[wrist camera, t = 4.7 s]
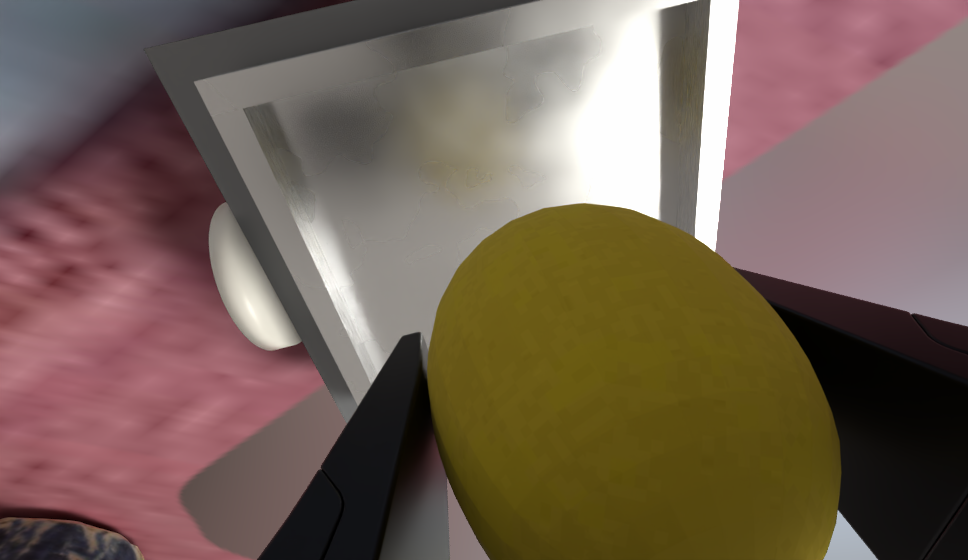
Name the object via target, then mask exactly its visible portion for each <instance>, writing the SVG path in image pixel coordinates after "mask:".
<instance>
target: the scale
mask: <svg viewBox="0 0 968 560" xmlns="http://www.w3.org/2000/svg"><path fill="white" fill-rule="evenodd" d="M531 1H535V0H354V1H350V2H346V3H341V4H337V5H333V6H328V7H324V8H320V9H315V10H311V11H306V12H302V13H298V14H293V15H289V16H285V17H280V18H276V19H272V20H267V21H263V22H259V23H254V24H250V25H245V26H241V27H237V28H232V29H228V30H224V31H219V32H215V33H211V34H206V35H202V36H198V37H193V38H189V39H185V40H180V41H176V42H171V43H167V44H163V45H158V46H154V47H150V48H145V49H144V51H145V53H146V55H147V57H148V58H149V60H150V62H151V64H152V66H153V68H154V69H155V71H156V73H157V75H158V77H159V79H160V81H161V82H162V84H163V86H164V88H165V90H166V92H167V93H168V95H169V97H170V99H171V101H172V103H173V104H174V106H175V108H176V110H177V112H178V114H179V116H180V117H181V119H182V121H183V123H184V125H185V127H186V128H187V130H188V132H189V134H190V136H191V138H192V139H193V141H194V143H195V145H196V147H197V149H198V151H199V152H200V154H201V156H202V158H203V160H204V162H205V163H206V165H207V167H208V169H209V171H210V173H211V174H212V176H213V178H214V180H215V182H216V184H217V186H218V187H219V189H220V191H221V193H222V195H223V197H224V198H225V200H226V202H225V203H223V204H221V205H220V206H219V207H218V208H217V209H216V211H215V212H214V215H213V217H212V220H211V223H210V230H209V253H210V260H211V266H212V270H213V275H214V278H215V282H216V285H217V288H218V291H219V293H220V296H221V298H222V301H223V303H224V305H225V307H226V309H227V311H228V313H229V314H230V316H231V318H232V320H233V321H234V323H235V324H236V325H237V327H238V328H239V330H240V331H241V332H242V333H243V334H244V336H245V337H246V338H248V339H249V340H250V341H251V342H252V343H253V344H255V345H256V346H258V347H260V348H262V349H264V350H268V351H273V350H277V349H281V348H285V347H289V346H293V345H297V344H298V343H300V342H301V341H302V342H303V344H304V346H305V348H306V349H307V351H308V353H309V355H310V357H311V359H312V360H313V362H314V364H315V366H316V368H317V370H318V372H319V373H320V375H321V377H322V379H323V381H324V383H325V384H326V386H327V388H328V390H329V392H330V394H331V395H332V397H333V399H334V401H335V403H336V405H337V407H338V408H339V410H340V412H341V414H342V416H343V418H344V419H345V421H346V423H348V421H349V420H350V418H351V417H352V415H353V413H354V412H355V410H356V409H357V407H358V405H357V403H356V401H355V399H354V397H353V395H352V393H351V391H350V389H349V387H348V385H347V383H346V381H345V379H344V378H343V376H342V374H341V372H340V370H339V368H338V366H337V364H336V362H335V360H334V358H333V356H332V354H331V352H330V350H329V348H328V346H327V344H326V342H325V340H324V338H323V336H322V334H321V332H320V330H319V328H318V326H317V324H316V322H315V320H314V318H313V316H312V314H311V312H310V310H309V308H308V306H307V304H306V302H305V301H304V299H303V297H302V295H301V293H300V291H299V289H298V287H297V285H296V283H295V281H294V279H293V277H292V275H291V273H290V271H289V269H288V267H287V265H286V263H285V261H284V259H283V257H282V255H281V253H280V251H279V249H278V247H277V245H276V243H275V241H274V239H273V237H272V235H271V233H270V231H269V229H268V227H267V225H266V224H265V222H264V220H263V218H262V216H261V214H260V212H259V210H258V208H257V206H256V204H255V202H254V200H253V198H252V196H251V194H250V192H249V190H248V188H247V186H246V184H245V182H244V180H243V178H242V176H241V174H240V172H239V170H238V168H237V166H236V164H235V162H234V160H233V158H232V156H231V154H230V152H229V150H228V148H227V147H226V145H225V143H224V141H223V139H222V137H221V135H220V133H219V131H218V129H217V127H216V125H215V123H214V121H213V119H212V117H211V115H210V113H209V111H208V109H207V107H206V105H205V103H204V101H203V99H202V97H201V95H200V93H199V91H198V89H197V87H196V85H195V83H194V81H198V80H201V79H205V78H208V77H212V76H215V75H219V74H223V73H227V72H231V71H235V70H240V69H244V68H248V67H253V66H257V65H261V64H265V63H270V62H274V61H278V60H283V59H287V58H291V57H295V56H300V55H304V54H308V53H312V52H317V51H321V50H325V49H330V48H334V47H338V46H342V45H347V44H351V43H355V42H360V41H364V40H368V39H372V38H377V37H381V36H385V35H390V34H394V33H398V32H402V31H407V30H411V29H415V28H419V27H424V26H428V25H432V24H437V23H441V22H445V21H449V20H454V19H458V18H462V17H467V16H471V15H475V14H479V13H484V12H488V11H492V10H497V9H501V8H505V7H509V6H514V5H518V4H522V3H526V2H531ZM738 7H739V5H738ZM737 17H738V16H737ZM736 28H737V26H736ZM735 38H736V36H735ZM734 48H735V47H734ZM733 59H734V57H733ZM732 69H733V68H732ZM731 80H732V78H731ZM730 90H731V89H730ZM729 100H730V99H729ZM728 111H729V109H728ZM727 121H728V120H727ZM726 132H727V130H726ZM725 142H726V141H725ZM724 152H725V151H724ZM723 163H724V161H723ZM722 173H723V172H722ZM721 184H722V182H721ZM719 204H720V203H719ZM718 215H719V214H718ZM717 225H718V224H717ZM716 236H717V234H716ZM715 246H716V245H715Z"/></svg>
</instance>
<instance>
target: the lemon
mask: <svg viewBox="0 0 968 560" xmlns="http://www.w3.org/2000/svg"><path fill="white" fill-rule="evenodd" d="M427 377H428V390H429V400H430V409H431V418H432V424H433V430H434V436H435V440H436V444H437V448H438V452H439V455H440V458H441V461H442V464H443V467H444V470H445V473H446V475H447V478H448V480H449V483H450V485H451V487H452V490H453V492H454V495H455V497H456V499H457V500H458V503H459V505H460V507H461V509H462V511H463V513H464V515H465V517H466V519H467V521H468V523H469V525H470V526H471V528H472V530H473V532H474V534H475V535H476V538H477V540H478V541H479V543H480V545H481V546H482V548H483V549H484V551H485V552H486V554H487V556H488V557H489V559H490V560H823V559H824V557H825V555H826V553H827V550H828V547H829V544H830V540H831V537H832V534H833V531H834V528H835V524H836V519H837V511H838V503H839V495H840V483H841V456H840V440H839V437H838V433H837V429H836V425H835V422H834V418H833V414H832V411H831V408H830V406H829V404H828V401H827V399H826V396H825V394H824V392H823V389H822V387H821V385H820V383H819V381H818V378H817V376H816V374H815V372H814V370H813V368H812V366H811V363H810V361H809V359H808V358H807V356H806V354H805V353H804V351H803V350H802V348H801V346H800V345H799V343H798V342H797V340H796V338H795V337H794V335H793V334H792V333H791V331H790V330H789V328H788V327H787V326H786V324H785V323H784V322H783V320H782V319H781V318H780V316H779V315H778V314H777V313H776V311H775V310H774V309H773V308H772V307H771V306H770V304H769V303H768V302H767V301H766V300H765V299H764V297H763V296H762V295H761V294H760V293H759V292H758V291H757V290H756V289H755V288H754V287H753V286H752V285H751V284H750V283H749V282H748V281H747V280H746V279H745V278H744V277H742V276H741V275H740V274H739V273H738V272H737V271H736V270H735V269H734V268H733V267H731V265H730V264H729V263H727V262H726V261H725V260H724V259H723V258H722V257H721V256H720V255H718V254H717V253H716V252H715V251H714V250H712V249H711V248H710V247H709V246H708V245H706V244H705V243H703V242H702V241H700V240H699V239H697V238H695V237H694V236H692V235H691V234H689V233H687V232H685V231H683V230H681V229H679V228H677V227H674V226H672V225H670V224H667V223H665V222H663V221H660V220H658V219H656V218H653V217H651V216H648V215H646V214H644V213H641V212H638V211H635V210H633V209H628V208H623V207H616V206H607V205H598V204H589V203H578V204H570V205H563V206H555V207H548V208H542V209H540V210H537V211H535V212H532V213H530V214H527V215H524V216H522V217H519V218H517V219H514V220H512V221H510V222H508V223H507V224H506V225H504V226H503V227H501V228H500V229H498V230H497V231H495V232H494V233H492V234H491V235H489V236H488V237H487V238H485V239H484V240H482V241H481V243H480V244H479V245H478V246H477V247H476V248H475V249H474V250H473V251H472V252H471V253H470V254H469V256H468V257H467V258H466V259H465V260H464V261H463V262H462V263H461V264H460V266H459V267H458V269H457V270H456V272H455V274H454V276H453V277H452V279H451V281H450V283H449V285H448V287H447V289H446V290H445V292H444V294H443V296H442V298H441V300H440V303H439V305H438V308H437V312H436V317H435V321H434V326H433V331H432V336H431V340H430V346H429V351H428V361H427Z"/></svg>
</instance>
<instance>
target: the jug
mask: <svg viewBox="0 0 968 560" xmlns="http://www.w3.org/2000/svg"><path fill="white" fill-rule="evenodd" d="M0 560H145V559H144V557H143V555H142V554H141V552H140V550H139V548H138V547H137V546H135V545H132V544H130V542H129V541H128V540H127V539H126V538H125V537H123V536H122V535H120V534H118V533H115V532H111V531H108V530H105V529H101V528H98V527H94V526H91V525H87V524H84V523H82V522H78V521H71V520H58V519H42V518H12V517H8V518H3V519H0Z"/></svg>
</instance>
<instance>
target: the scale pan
mask: <svg viewBox="0 0 968 560" xmlns="http://www.w3.org/2000/svg"><path fill="white" fill-rule="evenodd" d="M738 5H739V0H535V1H531V2H526V3H522V4H518V5H514V6H509V7H505V8H501V9H497V10H492V11H488V12H484V13H479V14H475V15H471V16H467V17H462V18H458V19H454V20H449V21H445V22H441V23H437V24H432V25H428V26H424V27H419V28H415V29H411V30H407V31H402V32H398V33H394V34H390V35H385V36H381V37H377V38H372V39H368V40H364V41H360V42H355V43H351V44H347V45H342V46H338V47H334V48H330V49H325V50H321V51H317V52H312V53H308V54H304V55H300V56H295V57H291V58H287V59H283V60H278V61H274V62H270V63H265V64H261V65H257V66H253V67H248V68H244V69H240V70H235V71H231V72H227V73H223V74H219V75H215V76H212V77H208V78H205V79H201V80H198V81H194V83H195V85H196V87H197V89H198V91H199V93H200V95H201V97H202V99H203V101H204V103H205V105H206V107H207V109H208V111H209V113H210V115H211V117H212V119H213V121H214V123H215V125H216V127H217V129H218V131H219V133H220V135H221V137H222V139H223V141H224V143H225V145H226V147H227V148H228V150H229V152H230V154H231V156H232V158H233V160H234V162H235V164H236V166H237V168H238V170H239V172H240V174H241V176H242V178H243V180H244V182H245V184H246V186H247V188H248V190H249V192H250V194H251V196H252V198H253V200H254V202H255V204H256V206H257V208H258V210H259V212H260V214H261V216H262V218H263V220H264V222H265V224H266V225H267V227H268V229H269V231H270V233H271V235H272V237H273V239H274V241H275V243H276V245H277V247H278V249H279V251H280V253H281V255H282V257H283V259H284V261H285V263H286V265H287V267H288V269H289V271H290V273H291V275H292V277H293V279H294V281H295V283H296V285H297V287H298V289H299V291H300V293H301V295H302V297H303V299H304V301H305V302H306V304H307V306H308V308H309V310H310V312H311V314H312V316H313V318H314V320H315V322H316V324H317V326H318V328H319V330H320V332H321V334H322V336H323V338H324V340H325V342H326V344H327V346H328V348H329V350H330V352H331V354H332V356H333V358H334V360H335V362H336V364H337V366H338V368H339V370H340V372H341V374H342V376H343V378H344V379H345V381H346V383H347V385H348V387H349V389H350V391H351V393H352V395H353V397H354V399H355V401H356V403H357V405H359V404H360V402H361V401H362V399H363V397H364V396H365V394H366V393H367V391H368V389H369V388H370V386H371V384H372V383H373V381H374V380H375V378H376V376H377V375H378V373H379V372H380V370H381V368H382V367H383V365H384V364H385V362H386V360H387V359H388V357H389V356H390V354H391V352H392V351H393V349H394V348H395V346H396V344H397V343H398V341H399V339H400V338H401V337H402V336H403V335H407V334H411V333H415V332H421V333H422V334H423V336H424V338H425V342H426V345H427V348H428V351H429V346H430V340H431V336H432V331H433V326H434V321H435V317H436V312H437V308H438V305H439V303H440V300H441V298H442V296H443V294H444V292H445V290H446V289H447V287H448V285H449V283H450V281H451V279H452V277H453V276H454V274H455V272H456V270H457V269H458V267H459V266H460V264H461V263H462V262H463V261H464V260H465V259H466V258H467V257H468V256H469V254H470V253H471V252H472V251H473V250H474V249H475V248H476V247H477V246H478V245H479V244H480V243H481V241H482V240H484V239H485V238H487V237H488V236H489V235H491V234H492V233H494V232H495V231H497V230H498V229H500V228H501V227H503V226H504V225H506V224H507V223H508V222H510V221H512V220H514V219H517V218H519V217H522V216H524V215H527V214H530V213H532V212H535V211H537V210H540V209H542V208H548V207H555V206H563V205H570V204H578V203H589V204H598V205H607V206H616V207H623V208H628V209H633V210H635V211H638V212H641V213H644V214H646V215H648V216H651V217H653V218H656V219H658V220H660V221H663V222H665V223H667V224H670V225H672V226H674V227H677V228H679V229H681V230H683V231H685V232H687V233H689V234H691V235H692V236H694V237H695V238H697V239H699V240H700V241H702V242H703V243H705V244H706V245H708V246H709V247H710V248H711V249H712V250H714V251H715V245H716V234H717V224H718V214H719V203H720V193H721V182H722V172H723V161H724V151H725V141H726V130H727V120H728V109H729V99H730V89H731V78H732V68H733V57H734V47H735V36H736V26H737V16H738Z"/></svg>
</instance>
